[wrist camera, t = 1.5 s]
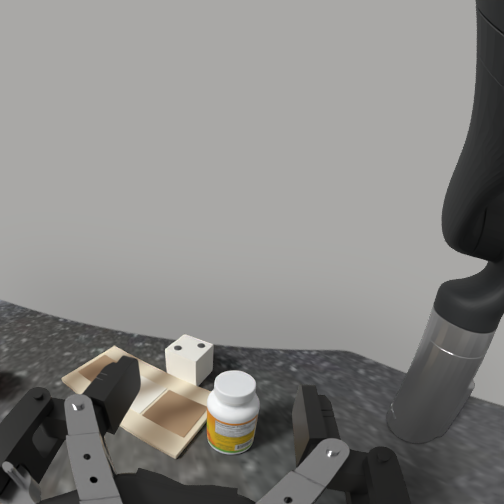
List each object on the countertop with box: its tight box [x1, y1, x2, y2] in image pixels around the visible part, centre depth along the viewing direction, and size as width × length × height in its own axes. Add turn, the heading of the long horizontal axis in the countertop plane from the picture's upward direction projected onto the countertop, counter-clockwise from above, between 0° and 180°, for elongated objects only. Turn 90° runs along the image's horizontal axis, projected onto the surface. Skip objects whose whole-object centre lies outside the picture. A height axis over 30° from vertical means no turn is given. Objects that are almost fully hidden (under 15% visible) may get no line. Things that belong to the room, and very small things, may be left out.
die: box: [165, 334, 214, 386], centre depth 37 cm, size 5×5×5 cm
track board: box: [62, 346, 211, 459], centre depth 31 cm, size 20×12×1 cm, turn 69°
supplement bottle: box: [207, 370, 260, 455], centre depth 26 cm, size 5×5×10 cm
